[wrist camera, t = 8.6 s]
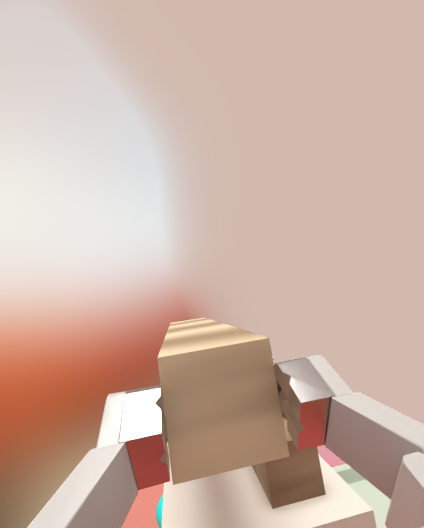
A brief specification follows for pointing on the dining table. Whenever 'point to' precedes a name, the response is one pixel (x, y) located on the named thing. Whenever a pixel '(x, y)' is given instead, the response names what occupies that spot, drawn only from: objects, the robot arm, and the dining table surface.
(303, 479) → the walnut bar
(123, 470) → the robot arm
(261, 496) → the tall stand
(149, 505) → the dining table surface
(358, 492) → the low shelf
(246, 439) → the maple bar
